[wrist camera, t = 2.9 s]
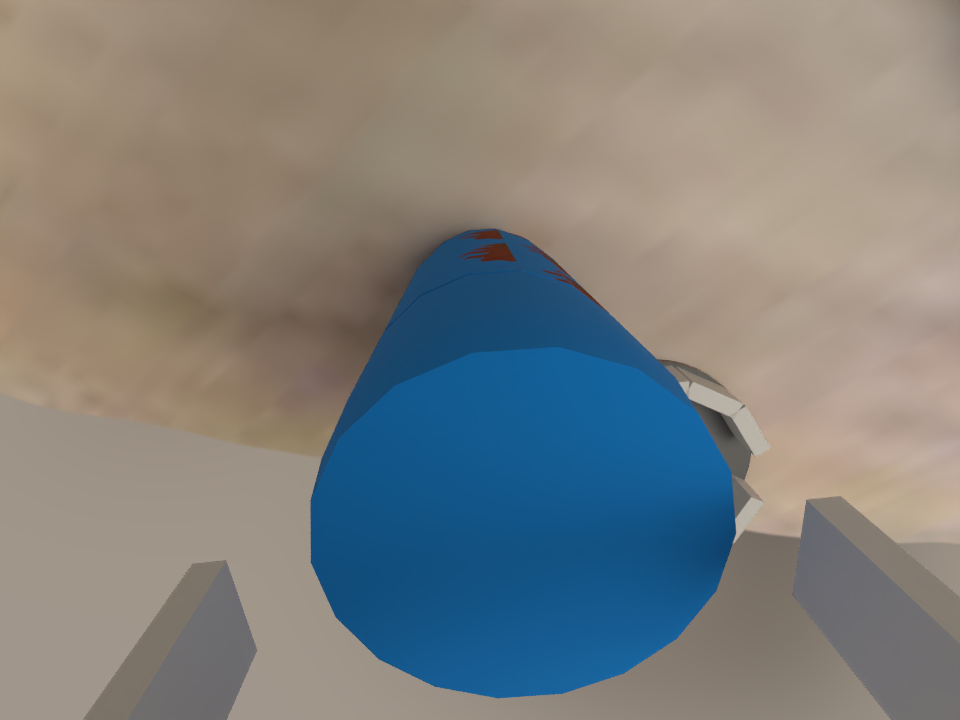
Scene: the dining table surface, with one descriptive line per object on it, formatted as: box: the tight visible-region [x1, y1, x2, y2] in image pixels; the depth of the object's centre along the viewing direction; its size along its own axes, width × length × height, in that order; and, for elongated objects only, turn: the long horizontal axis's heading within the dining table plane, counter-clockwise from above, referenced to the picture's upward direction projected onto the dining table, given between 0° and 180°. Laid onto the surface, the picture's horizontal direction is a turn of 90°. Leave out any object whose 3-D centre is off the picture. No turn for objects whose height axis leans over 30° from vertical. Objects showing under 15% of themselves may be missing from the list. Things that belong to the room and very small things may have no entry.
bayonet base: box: [657, 359, 770, 543], centre depth 39 cm, size 17×17×4 cm
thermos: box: [311, 229, 736, 698], centre depth 24 cm, size 11×11×25 cm
